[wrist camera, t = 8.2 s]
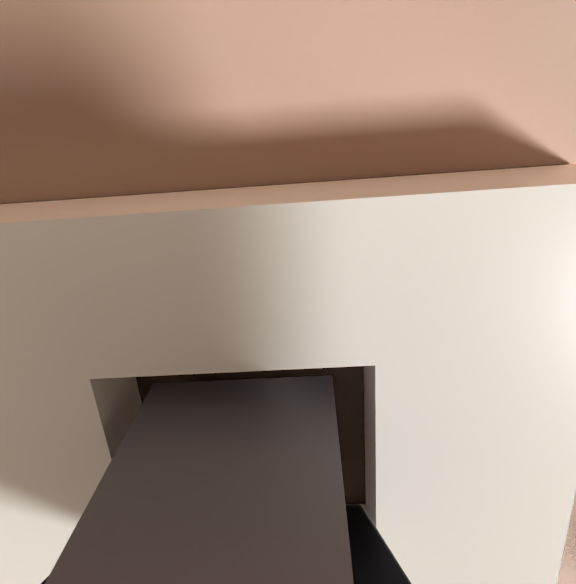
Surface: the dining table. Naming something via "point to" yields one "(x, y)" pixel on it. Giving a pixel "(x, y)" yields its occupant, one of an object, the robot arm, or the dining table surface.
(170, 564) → the charger brick
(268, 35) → the dining table surface
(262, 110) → the dining table surface
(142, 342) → the outlet plate
